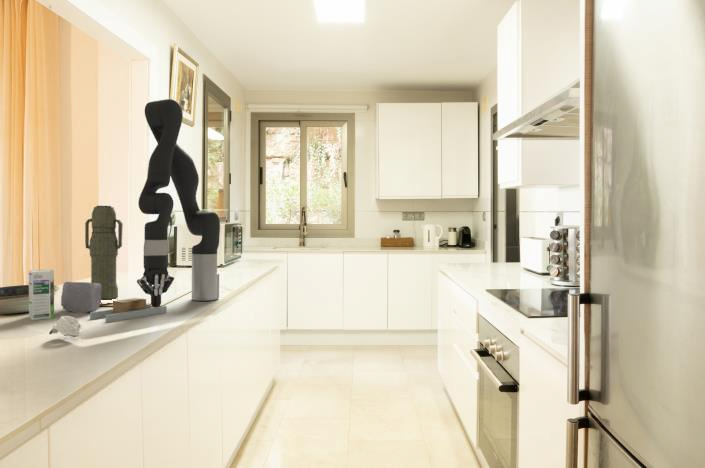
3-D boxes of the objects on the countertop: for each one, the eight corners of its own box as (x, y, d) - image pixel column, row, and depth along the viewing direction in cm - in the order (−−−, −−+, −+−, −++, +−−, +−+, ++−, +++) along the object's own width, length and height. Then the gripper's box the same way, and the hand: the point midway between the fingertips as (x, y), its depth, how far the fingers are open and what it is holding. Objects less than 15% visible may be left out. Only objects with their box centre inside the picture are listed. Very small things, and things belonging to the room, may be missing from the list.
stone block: (103, 311, 158) (103, 281, 158) (94, 314, 153) (94, 282, 153) (69, 311, 159) (69, 280, 159) (58, 313, 154) (58, 282, 154)
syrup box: (31, 320, 142) (31, 271, 142) (28, 318, 146) (28, 269, 146) (54, 318, 146) (54, 270, 145) (50, 315, 150) (50, 268, 150)
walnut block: (134, 313, 156) (134, 298, 156) (146, 314, 154) (146, 299, 154) (113, 317, 148) (113, 301, 148) (124, 319, 146) (124, 302, 146)
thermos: (120, 306, 170) (120, 205, 169) (82, 307, 166) (82, 205, 166) (124, 302, 178) (124, 206, 178) (88, 303, 174) (88, 206, 174)
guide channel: (148, 309, 162) (148, 303, 162) (166, 312, 157) (166, 306, 157) (89, 319, 145) (89, 312, 145) (107, 322, 140) (107, 315, 140)
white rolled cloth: (62, 331, 128) (61, 313, 128) (88, 331, 128) (88, 313, 128) (45, 338, 120) (44, 319, 120) (73, 338, 120) (73, 318, 120)
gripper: (165, 252, 166) (165, 303, 167) (130, 254, 155) (130, 308, 155) (180, 253, 163) (180, 305, 163) (145, 255, 151) (145, 310, 151)
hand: (155, 306), depth 159 cm, fingers closed
